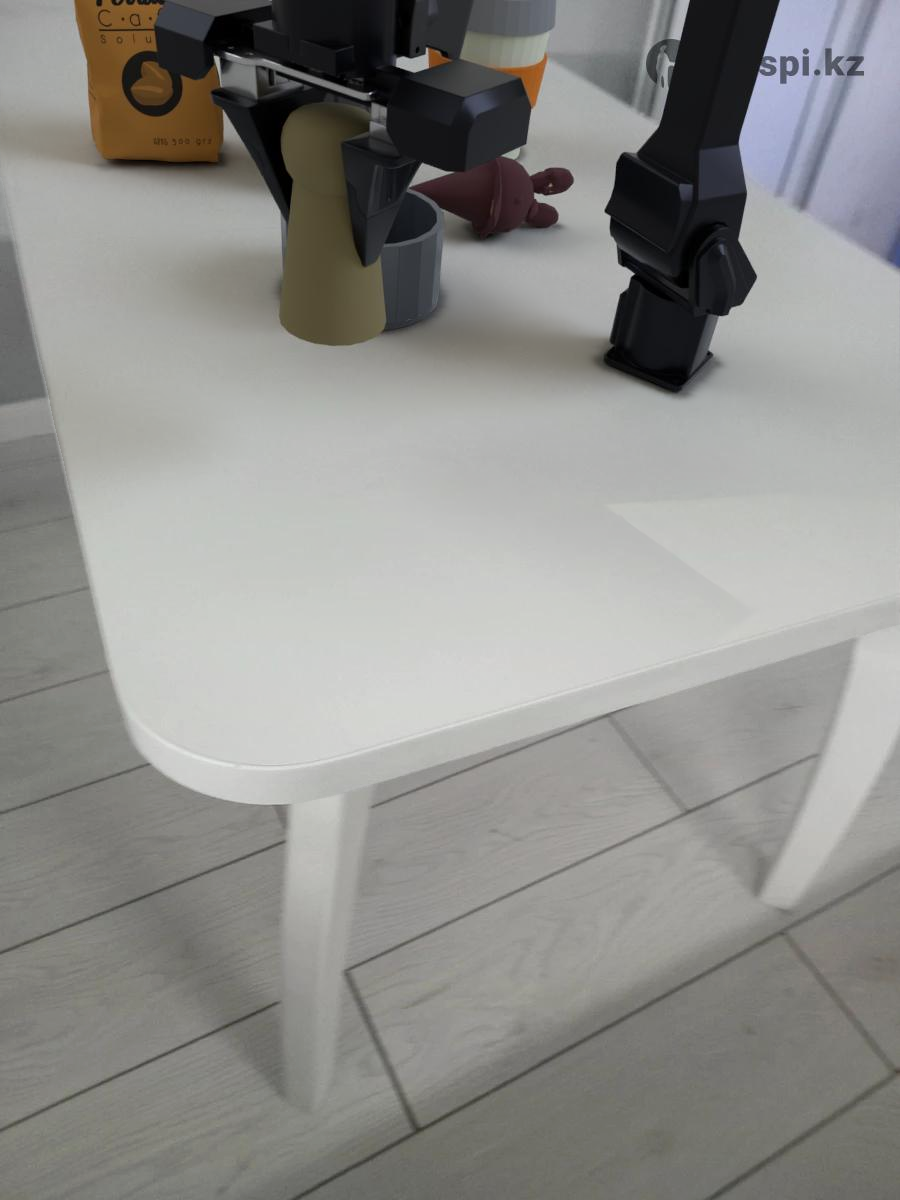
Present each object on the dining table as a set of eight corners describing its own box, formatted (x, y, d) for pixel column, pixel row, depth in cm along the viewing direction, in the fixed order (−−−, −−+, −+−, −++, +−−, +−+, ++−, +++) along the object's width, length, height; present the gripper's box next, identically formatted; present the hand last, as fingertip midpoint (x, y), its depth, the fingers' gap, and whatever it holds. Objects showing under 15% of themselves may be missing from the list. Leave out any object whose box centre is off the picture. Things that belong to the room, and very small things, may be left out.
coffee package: (227, 173, 88) (204, -114, 72) (91, 171, 86) (36, -126, 70) (225, 135, 95) (203, -135, 79) (98, 132, 92) (50, -147, 77)
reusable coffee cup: (538, 176, 94) (564, 7, 84) (416, 164, 94) (426, -8, 83) (533, 133, 103) (555, -25, 92) (421, 122, 103) (431, -38, 92)
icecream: (426, 181, 74) (591, 192, 79) (407, 125, 78) (566, 139, 83) (409, 252, 80) (564, 258, 85) (392, 197, 84) (542, 206, 88)
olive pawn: (407, 327, 52) (421, 121, 44) (318, 357, 49) (317, 140, 41) (345, 283, 55) (348, 82, 47) (258, 308, 52) (246, 98, 44)
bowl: (466, 291, 75) (475, 212, 71) (375, 348, 68) (378, 264, 63) (349, 244, 80) (350, 167, 75) (252, 293, 72) (246, 210, 67)
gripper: (621, -86, 40) (558, 260, 51) (298, -158, 47) (304, 162, 58) (479, -60, 33) (442, 333, 44) (124, -148, 40) (169, 212, 51)
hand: (335, 250), depth 49 cm, fingers closed on olive pawn, 4 cm apart
